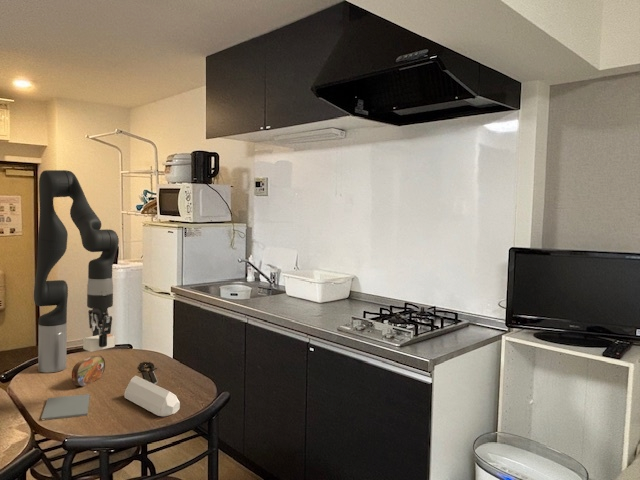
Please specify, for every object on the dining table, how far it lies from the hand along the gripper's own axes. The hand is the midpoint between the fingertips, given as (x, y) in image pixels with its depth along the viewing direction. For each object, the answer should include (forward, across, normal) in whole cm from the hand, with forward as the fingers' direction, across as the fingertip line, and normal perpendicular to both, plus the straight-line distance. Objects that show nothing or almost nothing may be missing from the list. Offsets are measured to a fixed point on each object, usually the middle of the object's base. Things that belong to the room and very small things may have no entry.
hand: (99, 344), depth 159 cm
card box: (+1, 0, 0) cm, 1 cm away
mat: (+17, +2, -10) cm, 20 cm away
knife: (+18, -12, +23) cm, 31 cm away
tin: (+18, -17, +3) cm, 25 cm away
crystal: (+18, +16, +10) cm, 26 cm away
